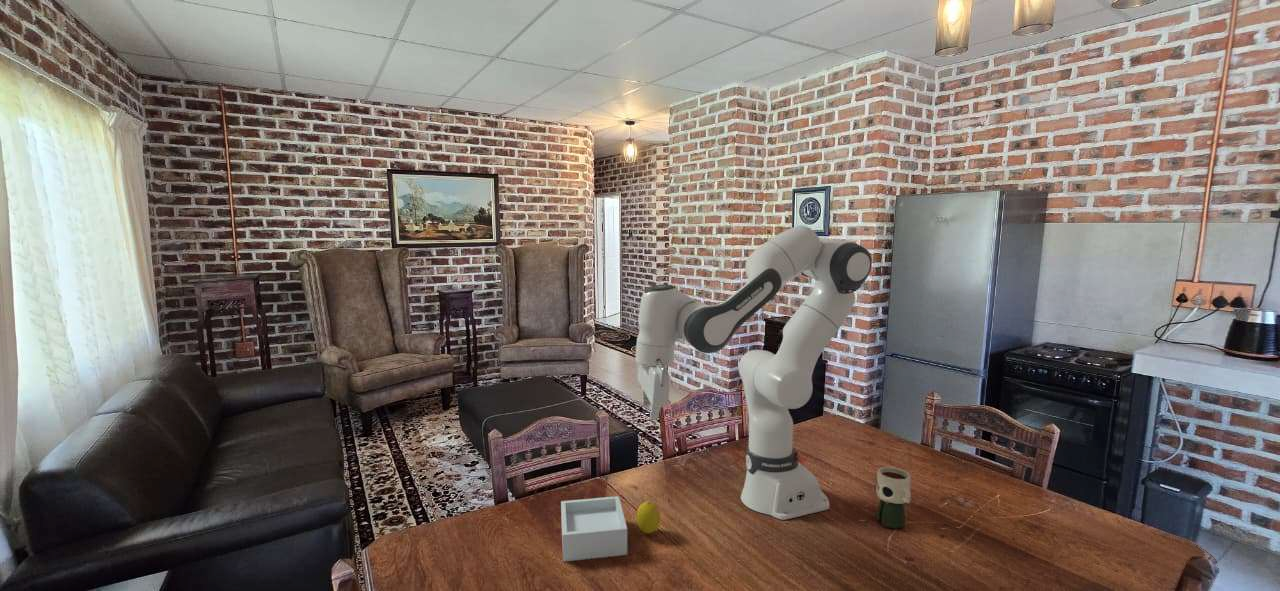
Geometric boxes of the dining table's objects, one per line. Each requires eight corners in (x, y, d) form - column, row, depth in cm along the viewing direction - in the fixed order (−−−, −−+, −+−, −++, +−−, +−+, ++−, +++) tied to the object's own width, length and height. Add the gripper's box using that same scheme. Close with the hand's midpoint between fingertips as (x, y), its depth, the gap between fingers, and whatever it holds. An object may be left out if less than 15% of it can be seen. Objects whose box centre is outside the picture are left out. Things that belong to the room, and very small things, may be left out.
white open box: (618, 520, 129) (618, 496, 128) (627, 556, 115) (627, 528, 114) (561, 526, 126) (560, 501, 125) (563, 563, 113) (562, 535, 112)
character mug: (863, 513, 132) (866, 464, 130) (887, 509, 133) (890, 461, 131) (893, 538, 121) (897, 485, 119) (919, 534, 123) (923, 481, 121)
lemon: (657, 541, 120) (657, 509, 119) (634, 538, 121) (634, 506, 120) (661, 528, 125) (661, 496, 124) (638, 525, 126) (639, 494, 125)
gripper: (678, 367, 111) (673, 429, 113) (659, 345, 131) (654, 398, 133) (649, 366, 110) (644, 429, 111) (634, 344, 130) (630, 397, 131)
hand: (649, 412), depth 122 cm, fingers open, 8 cm apart
